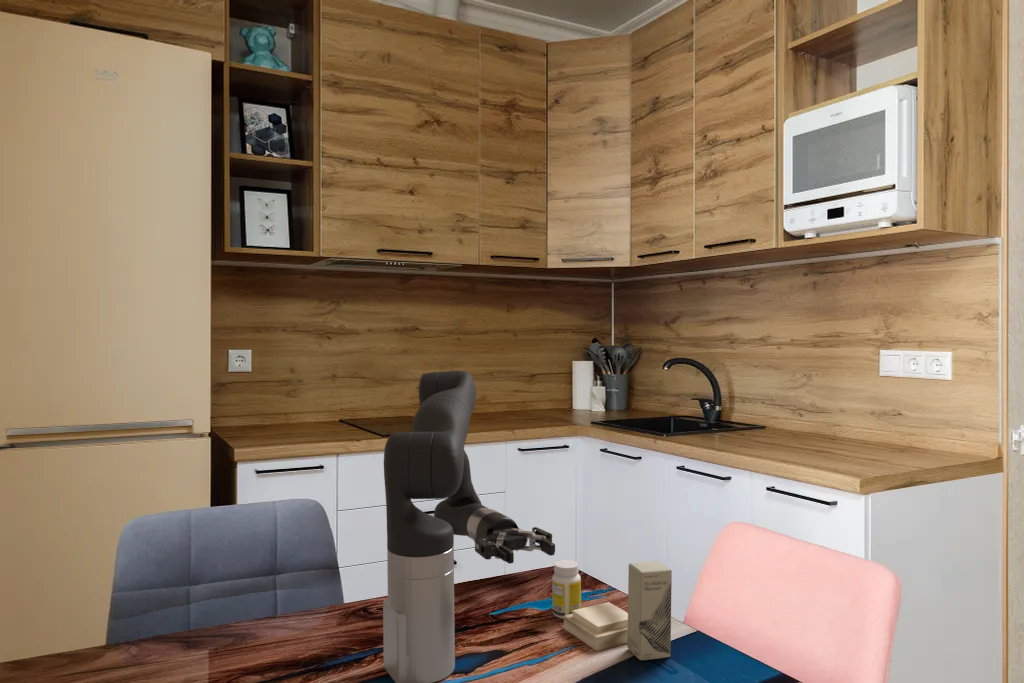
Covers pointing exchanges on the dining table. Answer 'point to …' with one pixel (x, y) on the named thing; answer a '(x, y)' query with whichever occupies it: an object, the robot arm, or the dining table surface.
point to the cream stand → (598, 625)
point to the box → (649, 610)
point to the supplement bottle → (566, 588)
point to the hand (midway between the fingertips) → (532, 554)
